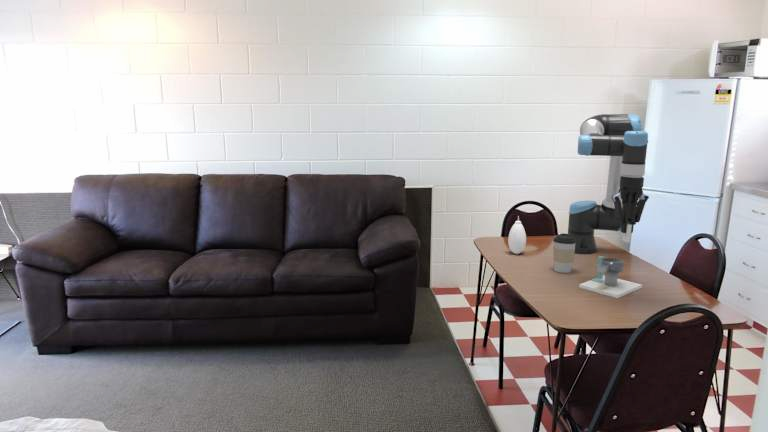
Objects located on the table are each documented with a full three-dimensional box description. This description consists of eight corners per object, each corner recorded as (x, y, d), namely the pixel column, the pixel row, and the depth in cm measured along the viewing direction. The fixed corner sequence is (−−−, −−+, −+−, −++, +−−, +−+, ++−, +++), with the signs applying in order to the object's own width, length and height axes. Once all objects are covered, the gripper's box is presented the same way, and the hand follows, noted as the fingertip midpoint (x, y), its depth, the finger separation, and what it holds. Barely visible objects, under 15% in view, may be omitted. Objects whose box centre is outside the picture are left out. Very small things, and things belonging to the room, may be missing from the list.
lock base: (604, 277, 211) (606, 253, 208) (641, 287, 199) (644, 262, 197) (579, 287, 200) (581, 261, 198) (617, 298, 188) (619, 271, 186)
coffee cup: (575, 274, 215) (578, 238, 212) (552, 272, 217) (554, 237, 214) (572, 267, 224) (574, 233, 221) (550, 266, 226) (552, 232, 222)
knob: (611, 263, 204) (611, 256, 204) (630, 268, 199) (631, 260, 198) (590, 270, 196) (591, 263, 195) (609, 275, 190) (610, 267, 189)
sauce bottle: (516, 256, 240) (518, 218, 236) (504, 252, 247) (506, 215, 243) (528, 254, 244) (531, 216, 240) (516, 250, 251) (518, 213, 247)
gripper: (642, 174, 188) (636, 238, 193) (608, 174, 187) (603, 239, 191) (656, 177, 181) (649, 243, 186) (621, 177, 179) (615, 245, 184)
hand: (625, 241), depth 189 cm, fingers closed
